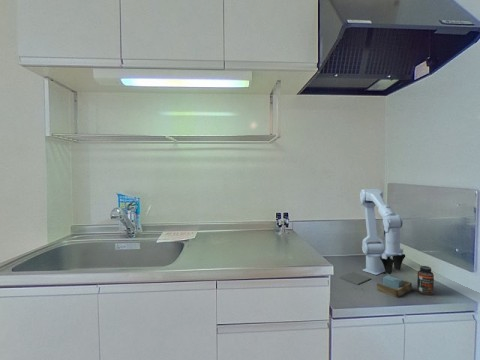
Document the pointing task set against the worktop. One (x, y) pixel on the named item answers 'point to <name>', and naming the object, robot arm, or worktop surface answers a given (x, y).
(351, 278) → the mat
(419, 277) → the supplement bottle
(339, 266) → the worktop surface
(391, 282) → the block
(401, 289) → the arch frame
